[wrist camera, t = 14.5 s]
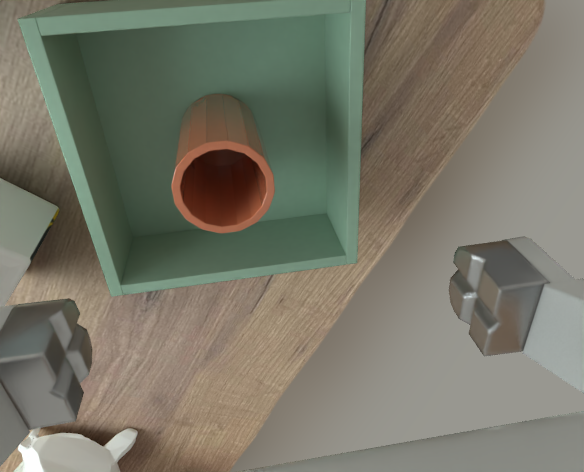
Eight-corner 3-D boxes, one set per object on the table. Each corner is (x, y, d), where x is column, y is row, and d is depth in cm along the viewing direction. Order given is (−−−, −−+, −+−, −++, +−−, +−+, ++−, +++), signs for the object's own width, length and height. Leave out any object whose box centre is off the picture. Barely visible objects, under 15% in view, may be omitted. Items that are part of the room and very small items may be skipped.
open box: (334, -16, 29) (366, -7, 23) (334, 215, 37) (357, 263, 32) (57, 4, 27) (16, 18, 21) (126, 241, 36) (111, 296, 30)
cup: (254, 89, 30) (270, 136, 23) (261, 163, 33) (277, 226, 26) (173, 97, 30) (162, 147, 22) (187, 172, 33) (182, 238, 25)
